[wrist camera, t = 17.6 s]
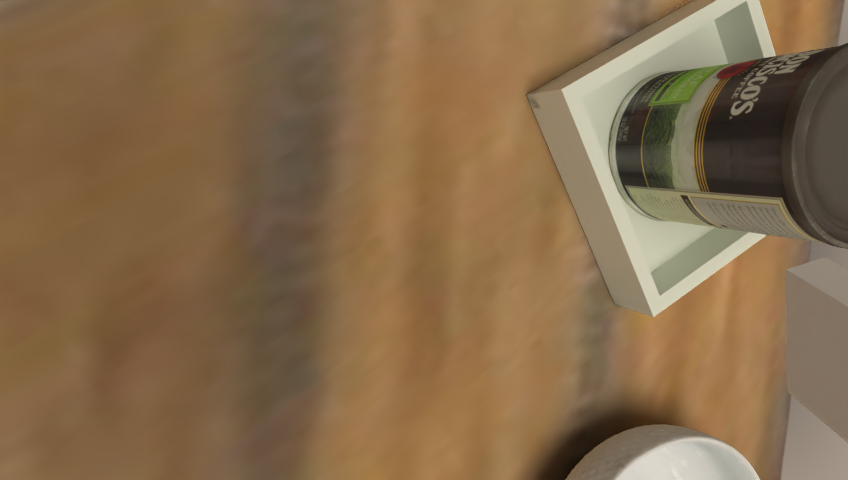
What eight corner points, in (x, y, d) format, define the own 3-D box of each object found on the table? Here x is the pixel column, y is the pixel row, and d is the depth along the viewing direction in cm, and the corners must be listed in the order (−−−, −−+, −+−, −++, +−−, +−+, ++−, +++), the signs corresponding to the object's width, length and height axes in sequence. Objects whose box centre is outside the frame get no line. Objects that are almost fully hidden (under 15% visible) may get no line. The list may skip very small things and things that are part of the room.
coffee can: (583, 118, 43) (767, 103, 30) (695, 44, 46) (910, 0, 33) (642, 251, 46) (833, 289, 33) (744, 174, 49) (959, 182, 36)
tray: (526, 95, 42) (561, 89, 39) (705, -7, 47) (752, -21, 43) (614, 304, 47) (653, 317, 43) (770, 194, 51) (818, 197, 48)
